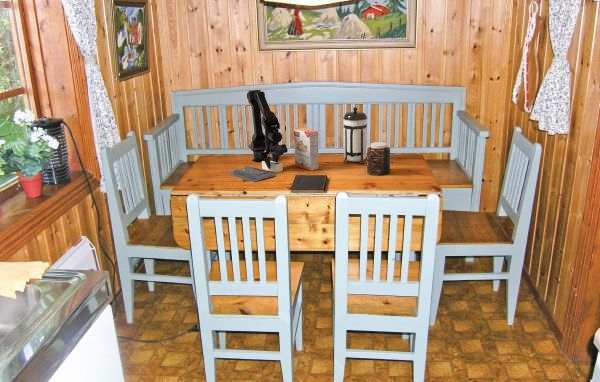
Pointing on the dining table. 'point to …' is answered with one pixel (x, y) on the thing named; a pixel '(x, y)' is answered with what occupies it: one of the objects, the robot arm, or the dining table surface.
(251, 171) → the mount plate
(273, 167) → the white rectangular block
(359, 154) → the coffee press
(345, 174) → the dining table surface
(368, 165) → the jar
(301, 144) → the cracker box
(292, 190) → the hardcover book
